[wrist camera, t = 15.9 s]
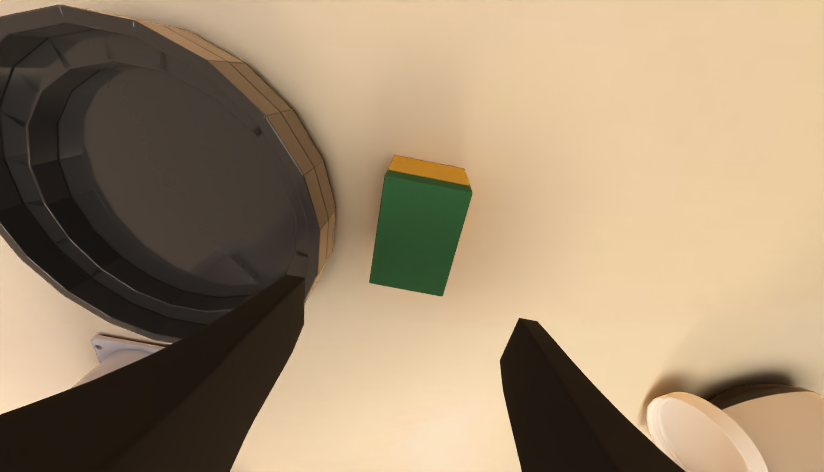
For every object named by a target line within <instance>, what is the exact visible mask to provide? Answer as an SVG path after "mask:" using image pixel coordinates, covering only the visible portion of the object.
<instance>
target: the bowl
mask: <svg viewBox="0 0 824 472" xmlns="http://www.w3.org/2000/svg"><path fill="white" fill-rule="evenodd" d="M335 209H336V208H335V204H334V200H333V196H332V192H331V188H330V185H329V181H328V177H327V173H326V169H325V165H324V162H323V159H322V158H321V156H320V154H319V153H318V151H317V149H316V148H315V146H314V144H313V143H312V141H311V139H310V137H309V136H308V134H307V132H306V131H305V129H304V127H303V126H302V124H301V122H300V121H299V119H298V117H297V116H296V114H295V112H294V111H293V110H292V109H291V108H290V107H289V106H288V105H287V104H286V103H285V102H284V101H283V100H282V99H281V98H280V97H279V96H278V95H277V94H276V93H275V92H274V91H273V90H272V89H271V88H270V87H269V86H268V85H267V84H266V83H265V82H264V81H263V80H262V79H261V78H260V77H259V76H258V75H257V74H256V73H255V72H254V71H253V70H252V69H251V68H250V67H248V66H247V65H246V64H245V63H244V62H243V61H241V60H239V59H237V58H235V57H234V56H232V55H230V54H228V53H227V52H225V51H223V50H221V49H219V48H218V47H216V46H214V45H212V44H211V43H209V42H207V41H205V40H203V39H202V38H200V37H198V36H196V35H195V34H193V33H191V32H189V31H187V30H185V29H181V28H176V27H171V26H166V25H161V24H157V23H152V22H147V21H142V20H137V19H133V18H128V17H123V16H118V15H113V14H107V13H102V12H97V11H92V10H87V9H82V8H76V7H71V6H66V5H55V6H50V7H45V8H40V9H35V10H30V11H25V12H20V13H15V14H10V15H5V16H0V235H1V236H2V237H3V238H4V240H5V241H6V242H7V243H8V245H9V246H10V247H11V248H12V249H13V251H14V252H15V253H16V254H17V256H18V257H19V258H21V260H22V261H24V262H25V263H26V264H27V265H28V266H29V267H31V268H32V269H33V270H34V271H35V272H36V273H38V274H39V275H40V276H41V277H42V278H44V279H45V280H46V281H47V282H48V283H49V284H51V285H52V286H53V287H54V288H55V289H56V290H58V291H59V292H60V293H61V294H63V295H64V296H65V297H67V298H69V299H70V300H72V301H74V302H75V303H77V304H79V305H80V306H82V307H84V308H85V309H87V310H89V311H90V312H92V313H94V314H96V315H97V316H99V317H101V318H102V319H104V320H106V321H107V322H109V323H111V324H114V325H117V326H119V327H122V328H124V329H127V330H130V331H132V332H135V333H137V334H140V335H143V336H145V337H148V338H150V339H153V340H157V341H163V342H168V343H175V342H177V341H179V340H181V339H183V338H185V337H187V336H189V335H190V334H192V333H194V332H196V331H198V330H199V329H201V328H203V327H205V326H206V325H208V324H210V323H211V322H213V321H215V320H217V319H218V318H220V317H222V316H223V315H225V314H227V313H228V312H230V311H231V310H233V309H235V308H236V307H238V306H239V305H241V304H242V303H244V302H245V301H247V300H249V299H250V298H252V297H253V296H255V295H256V294H258V293H259V292H261V291H262V290H264V289H265V288H267V287H268V286H270V285H271V284H273V283H274V282H276V281H277V280H279V279H280V278H282V277H283V276H285V275H287V274H288V275H293V276H298V277H304V278H305V302H304V305H305V303H306V301H307V299H308V297H309V296H310V294H311V292H312V290H313V289H314V287H315V285H316V283H317V282H318V280H319V278H320V275H321V273H322V271H323V269H324V267H325V265H326V263H327V261H328V259H329V257H330V255H331V253H332V250H333V239H334V225H335V212H336V210H335Z"/></svg>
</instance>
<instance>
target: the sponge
mask: <svg viewBox="0 0 824 472" xmlns="http://www.w3.org/2000/svg"><path fill="white" fill-rule="evenodd" d="M471 196H472V190H471V187H470V184H469V181H468V178H467V175H466V172H465V169H462V168H457V167H452V166H447V165H442V164H437V163H432V162H427V161H422V160H417V159H412V158H407V157H402V156H397V155H395V156H394V158H393V160H392V162H391V164H390V166H389V168H388V170H387V172H386V174H385V177H384V184H383V191H382V198H381V205H380V212H379V219H378V226H377V233H376V239H375V246H374V253H373V260H372V267H371V274H370V281H369V283H372V284H378V285H383V286H389V287H394V288H399V289H405V290H410V291H415V292H421V293H426V294H431V295H437V296H443V293H444V290H445V286H446V283H447V279H448V276H449V272H450V269H451V265H452V262H453V259H454V255H455V252H456V248H457V245H458V241H459V238H460V234H461V231H462V228H463V224H464V221H465V217H466V214H467V210H468V207H469V203H470V200H471Z"/></svg>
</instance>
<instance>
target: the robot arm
mask: <svg viewBox="0 0 824 472" xmlns="http://www.w3.org/2000/svg"><path fill="white" fill-rule="evenodd" d="M304 302H305V278H304V277H298V276H293V275H288V274H287V275H285V276H283V277H282V278H280V279H279V280H277V281H276V282H274V283H273V284H271V285H270V286H268V287H267V288H265V289H264V290H262V291H261V292H259V293H258V294H256V295H255V296H253V297H252V298H250V299H249V300H247V301H245V302H244V303H242V304H241V305H239V306H238V307H236V308H235V309H233V310H231V311H230V312H228V313H227V314H225V315H223V316H222V317H220V318H218V319H217V320H215V321H213V322H211V323H210V324H208V325H206V326H205V327H203V328H201V329H199V330H198V331H196V332H194V333H192V334H190V335H189V336H187V337H185V338H183V339H181V340H179V341H177V342H175V343H173V344H171V345H169V346H167V347H163V346H157V345H151V344H146V343H140V342H135V341H129V340H123V339H118V338H112V337H107V336H101V335H96V336H94V337H93V338H92V339H91V343H92V345H93V347H94V350H95V352H96V355H97V357H98V359H99V362H100V364H99V365H97V366H96V367H95V368H94V369H93V370H92V371H90V372H89V373H88V374H87V375H86V376H85V377H83V378H82V379H81V380H80V381H79V382H78V383H76V384H75V385H74V386H73V387H72V388H71V389H69V390H66V391H64V392H61V393H59V394H56V395H53V396H50V397H48V398H45V399H42V400H40V401H37V402H34V403H32V404H29V405H26V406H23V407H21V408H18V409H15V410H12V411H9V412H6V413H4V414H1V415H0V472H230V470H231V468H232V466H233V463H234V461H235V459H236V457H237V455H238V452H239V450H240V448H241V446H242V444H243V441H244V439H245V437H246V435H247V433H248V431H249V429H250V427H251V425H252V423H253V421H254V419H255V418H256V416H257V414H258V412H259V411H260V409H261V407H262V405H263V404H264V402H265V400H266V398H267V396H268V395H269V393H270V391H271V389H272V388H273V386H274V384H275V382H276V381H277V379H278V377H279V375H280V373H281V372H282V370H283V368H284V366H285V364H286V363H287V361H288V359H289V357H290V355H291V354H292V352H293V349H294V347H295V345H296V342H297V340H298V337H299V335H300V333H301V330H302V328H303V325H304ZM500 366H501V377H502V385H503V392H504V397H505V401H506V406H507V410H508V414H509V419H510V423H511V427H512V431H513V436H514V440H515V444H516V448H517V452H518V457H519V461H520V465H521V470H522V472H686V471H685V470H683V469H682V468H681V467H680V466H679V465H677V464H676V463H675V462H674V461H673V460H672V459H670V458H669V457H668V456H667V455H666V454H665V453H664V452H662V451H661V450H660V449H659V448H658V447H657V446H656V445H655V444H653V443H652V442H651V441H650V440H649V439H648V438H647V437H646V436H645V435H644V434H643V433H642V432H641V431H639V430H638V429H637V428H636V427H635V426H634V425H633V424H632V423H631V422H630V421H629V420H628V419H627V418H626V417H625V416H624V415H623V414H622V413H621V412H620V411H619V410H618V409H617V408H616V407H615V406H614V405H613V404H612V403H611V402H610V401H609V400H608V399H607V398H606V397H605V396H604V395H603V394H602V393H601V392H600V391H599V390H598V389H597V388H596V387H595V386H594V384H593V383H592V382H591V381H590V380H589V379H588V378H587V377H586V376H585V375H584V374H583V372H582V371H581V370H580V369H579V368H578V367H577V366H576V365H575V364H574V362H573V361H572V360H571V359H570V358H569V357H568V356H567V354H566V353H565V352H564V351H563V350H562V349H561V348H560V346H559V345H558V344H557V343H556V342H555V341H554V339H553V338H552V337H551V336H550V335H549V334H548V333H547V332H546V330H545V329H544V328H543V327H542V326H541V325H540V324H539V323H538V322H537V321H533V320H527V319H522V318H519V320H518V322H517V324H516V326H515V328H514V330H513V333H512V335H511V337H510V339H509V341H508V344H507V346H506V348H505V350H504V352H503V355H502V357H501V359H500Z"/></svg>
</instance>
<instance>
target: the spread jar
mask: <svg viewBox="0 0 824 472" xmlns="http://www.w3.org/2000/svg"><path fill="white" fill-rule="evenodd" d="M646 421H647V426H648V430H649V433H650V435H651V438H652V440H653V442H654V444H655V445H656V446H657V447H658V448H659V449H660V450H661V451H662V452H664V453H665V454H666V455H667V456H668V457H669V458H670V459H672V460H673V461H674V462H675V463H676V464H677V465H679V466H680V467H681V468H682V469H683V470H685V471H686V472H824V398H823V397H821V396H820V395H818V394H817V393H815V392H813V391H810V390H808V389H805V388H802V387H797V386H792V385H781V384H752V385H746V386H741V387H737V388H734V389H731V390H728V391H726V392H723V393H721V394H719V395H718V396H716V397H714V398H713V399H711V400H710V401H706V400H704V399H702V398H700V397H698V396H695V395H692V394H689V393H685V392H671V393H669V394H666V395H663V396H660V397H657V398H655V399H653V400H652V401H651V402H650V403H649V405H648V407H647V412H646Z"/></svg>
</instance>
